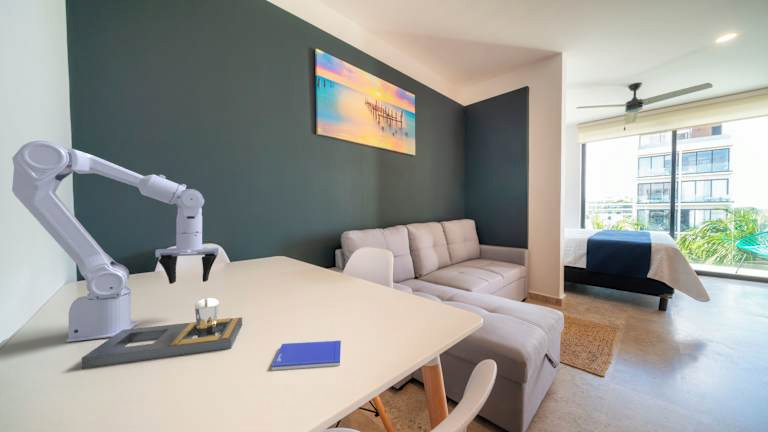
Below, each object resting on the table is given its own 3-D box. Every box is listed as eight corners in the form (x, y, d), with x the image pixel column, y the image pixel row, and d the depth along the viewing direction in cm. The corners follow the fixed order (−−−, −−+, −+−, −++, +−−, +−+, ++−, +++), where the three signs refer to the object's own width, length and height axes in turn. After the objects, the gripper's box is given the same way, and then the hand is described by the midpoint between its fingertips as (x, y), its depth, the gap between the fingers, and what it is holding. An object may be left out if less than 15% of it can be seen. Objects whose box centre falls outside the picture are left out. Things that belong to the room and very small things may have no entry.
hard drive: (271, 364, 48) (340, 360, 50) (282, 342, 56) (340, 339, 58) (271, 373, 48) (340, 368, 50) (282, 349, 56) (340, 346, 58)
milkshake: (192, 348, 55) (192, 301, 55) (195, 337, 60) (195, 294, 60) (217, 343, 57) (218, 297, 57) (219, 333, 62) (219, 291, 62)
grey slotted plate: (81, 368, 47) (81, 356, 47) (122, 338, 59) (122, 328, 59) (231, 348, 55) (231, 338, 55) (242, 325, 67) (242, 316, 67)
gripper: (149, 234, 66) (149, 287, 66) (215, 233, 70) (215, 283, 71) (162, 232, 72) (162, 280, 73) (222, 231, 77) (222, 277, 77)
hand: (189, 281), depth 72 cm, fingers open, 7 cm apart
